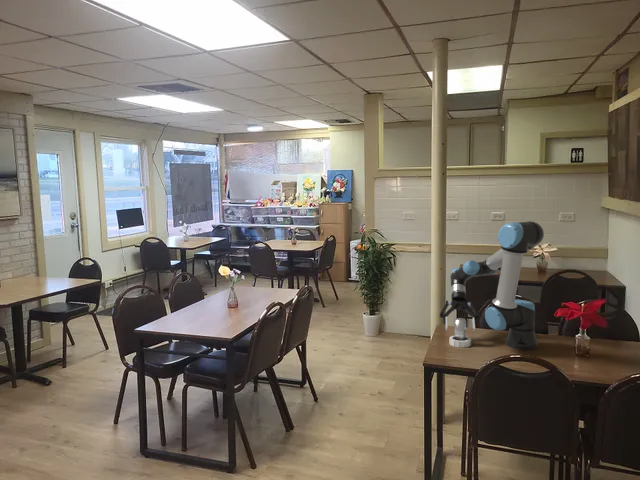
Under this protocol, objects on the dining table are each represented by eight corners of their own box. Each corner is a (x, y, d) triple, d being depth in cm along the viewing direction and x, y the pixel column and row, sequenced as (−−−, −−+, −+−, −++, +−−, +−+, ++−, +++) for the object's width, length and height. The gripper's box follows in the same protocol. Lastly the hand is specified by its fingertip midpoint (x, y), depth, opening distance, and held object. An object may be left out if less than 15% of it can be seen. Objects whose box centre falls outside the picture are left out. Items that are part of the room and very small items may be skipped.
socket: (475, 345, 247) (475, 339, 247) (459, 348, 243) (459, 342, 243) (461, 339, 257) (461, 334, 257) (445, 342, 252) (445, 337, 252)
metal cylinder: (468, 342, 249) (468, 319, 247) (459, 344, 246) (459, 321, 245) (460, 339, 253) (460, 317, 252) (452, 341, 251) (452, 319, 250)
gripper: (482, 298, 261) (485, 333, 248) (434, 297, 266) (435, 332, 253) (483, 291, 255) (486, 326, 242) (434, 290, 260) (435, 324, 247)
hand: (460, 329), depth 248 cm, fingers open, 13 cm apart
